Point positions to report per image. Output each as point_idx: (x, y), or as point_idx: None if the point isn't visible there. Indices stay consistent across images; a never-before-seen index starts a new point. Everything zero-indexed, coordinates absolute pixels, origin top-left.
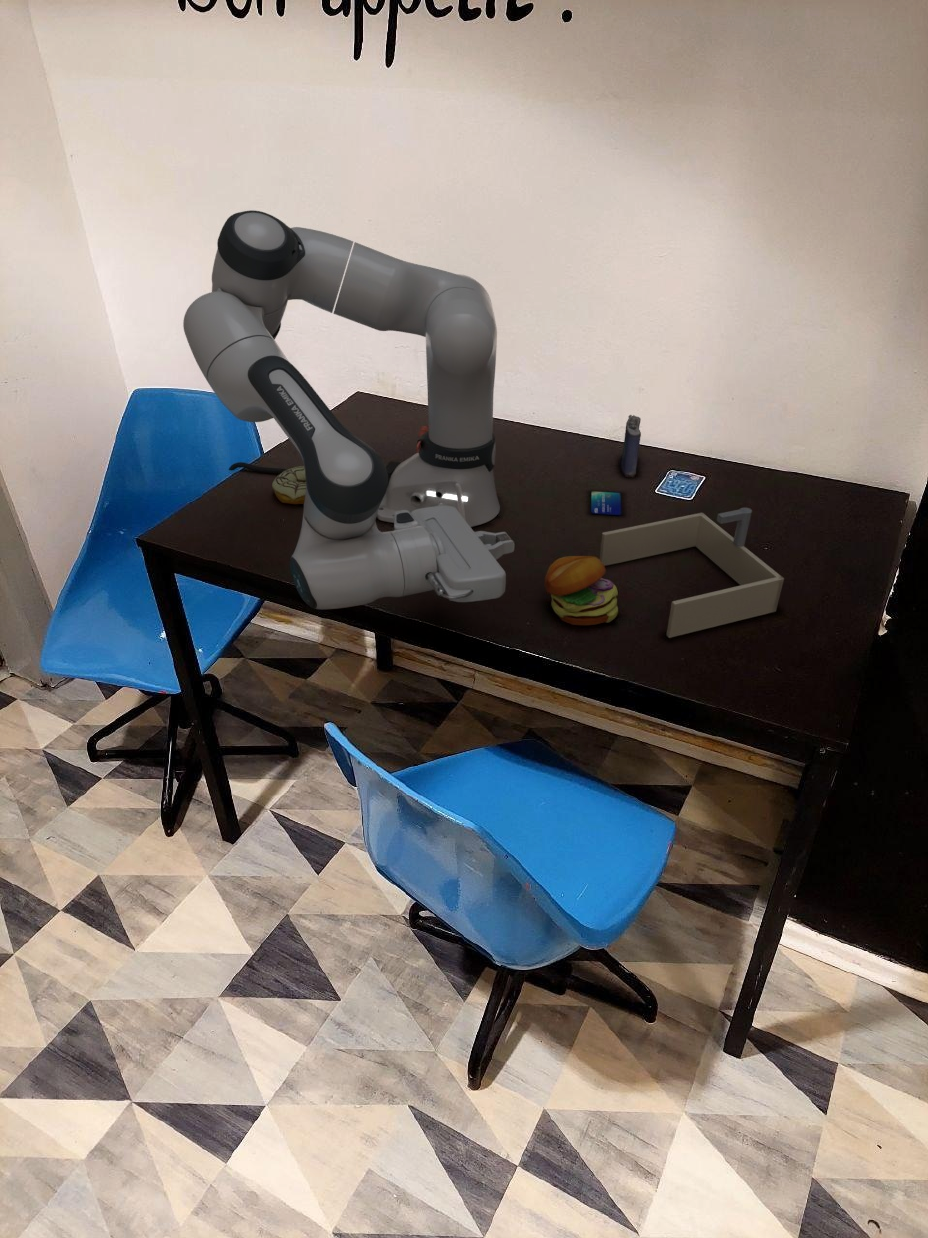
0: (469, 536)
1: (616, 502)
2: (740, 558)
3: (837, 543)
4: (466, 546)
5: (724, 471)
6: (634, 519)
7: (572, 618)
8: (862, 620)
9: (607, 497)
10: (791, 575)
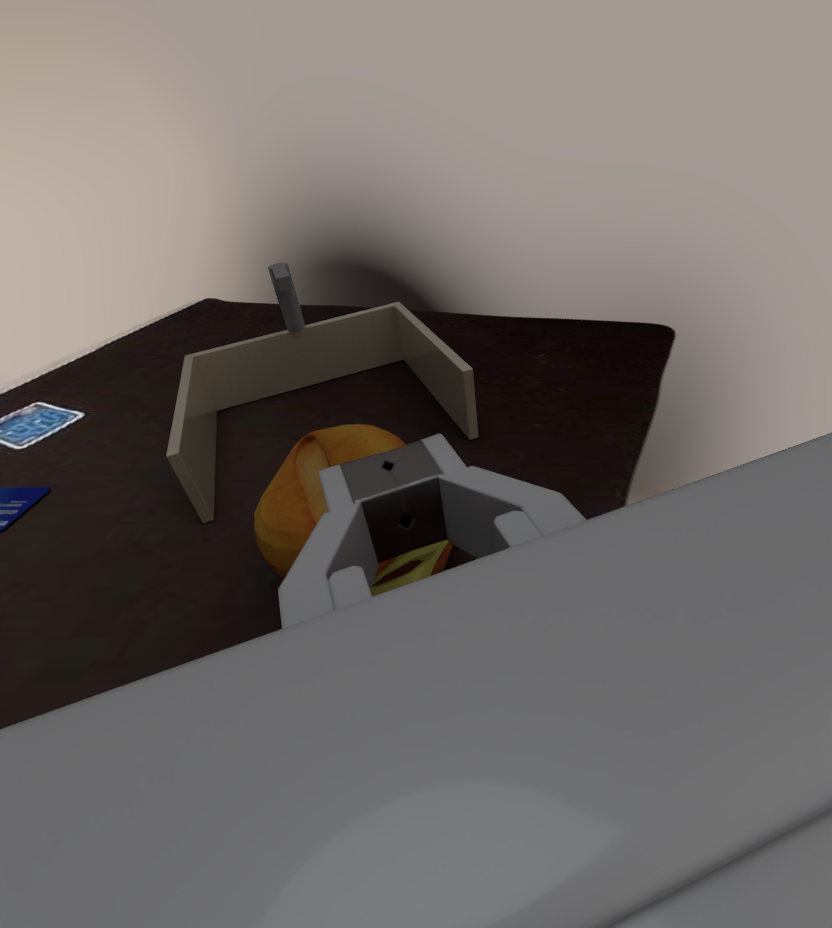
0: (455, 637)
1: (2, 493)
2: (317, 342)
3: (274, 324)
4: (706, 661)
5: (42, 387)
6: (81, 472)
7: (439, 558)
8: (430, 314)
9: None
10: None
